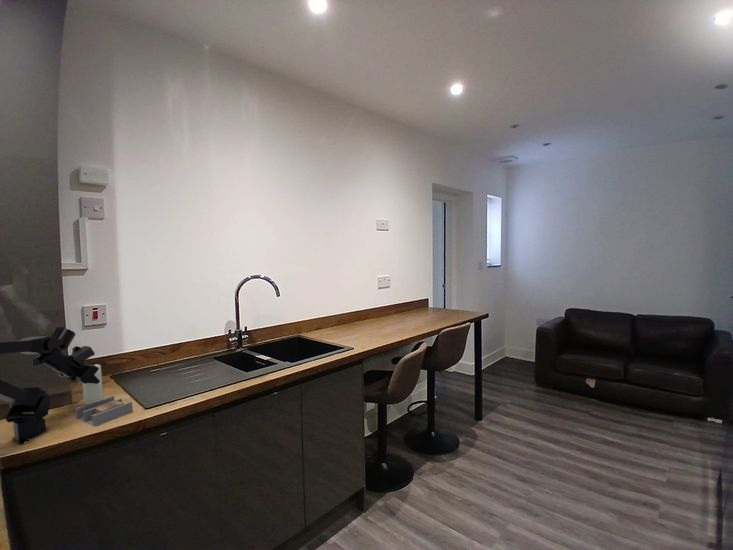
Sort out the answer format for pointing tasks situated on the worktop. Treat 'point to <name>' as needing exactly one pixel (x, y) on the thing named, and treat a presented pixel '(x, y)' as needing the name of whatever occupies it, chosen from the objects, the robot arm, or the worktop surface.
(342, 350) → the worktop surface
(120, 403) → the offcuts
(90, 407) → the rack
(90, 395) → the pale upright slab
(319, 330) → the worktop surface
